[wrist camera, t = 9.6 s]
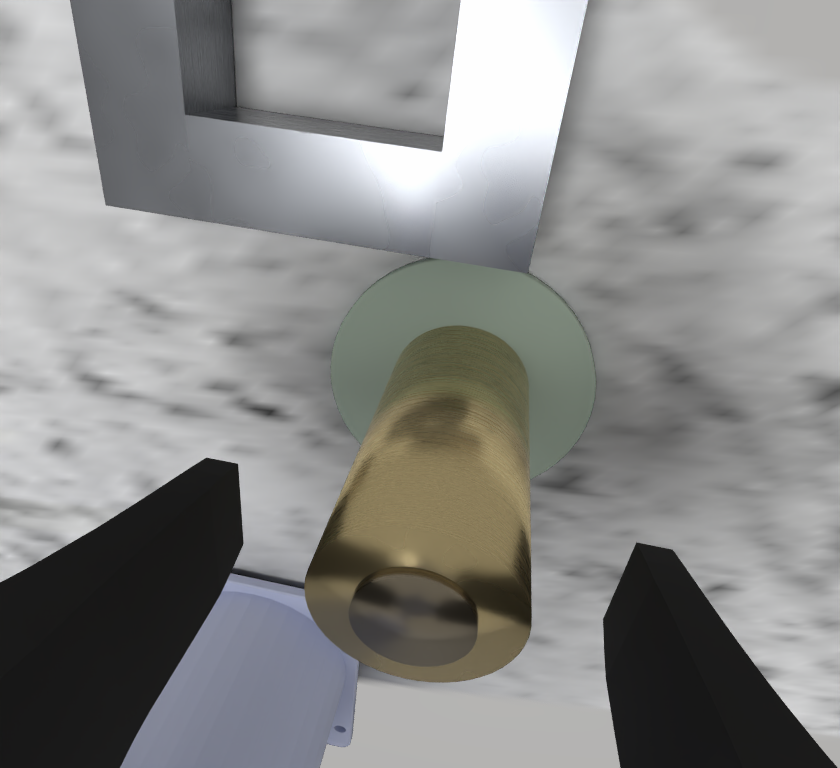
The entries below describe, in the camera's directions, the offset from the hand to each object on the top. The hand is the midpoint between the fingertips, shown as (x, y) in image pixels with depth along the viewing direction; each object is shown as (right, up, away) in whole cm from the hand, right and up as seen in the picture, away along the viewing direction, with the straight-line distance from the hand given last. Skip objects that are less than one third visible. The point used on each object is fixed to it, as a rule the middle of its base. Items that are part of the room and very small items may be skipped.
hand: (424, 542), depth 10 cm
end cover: (+1, +3, +5) cm, 5 cm away
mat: (+1, +3, +5) cm, 6 cm away
